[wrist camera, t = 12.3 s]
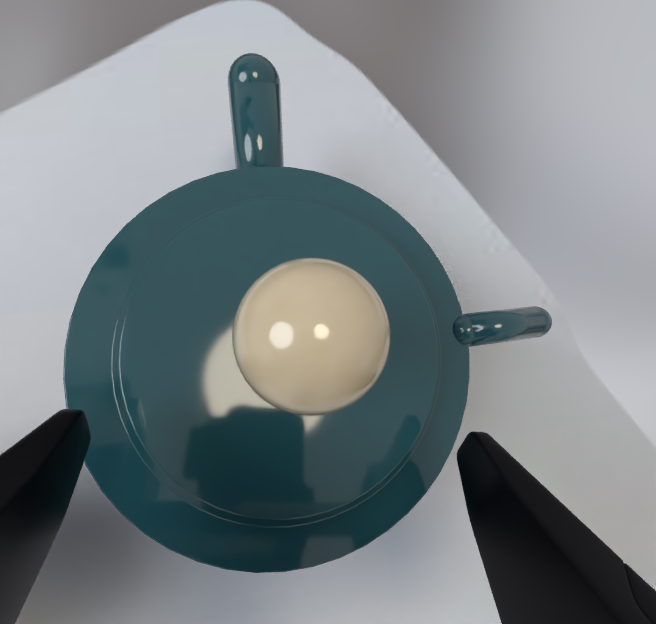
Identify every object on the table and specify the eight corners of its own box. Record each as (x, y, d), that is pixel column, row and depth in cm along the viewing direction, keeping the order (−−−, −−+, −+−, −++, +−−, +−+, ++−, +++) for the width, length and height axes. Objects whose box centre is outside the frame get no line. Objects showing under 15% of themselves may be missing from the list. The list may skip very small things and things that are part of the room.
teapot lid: (340, 573, 11) (440, 793, 5) (49, 405, 10) (-215, 444, 4) (474, 307, 13) (646, 254, 7) (245, 153, 12) (240, -37, 7)
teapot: (473, 456, 20) (609, 506, 13) (145, 523, 17) (55, 649, 9) (419, 151, 23) (505, 37, 15) (122, 153, 19) (37, 5, 12)
